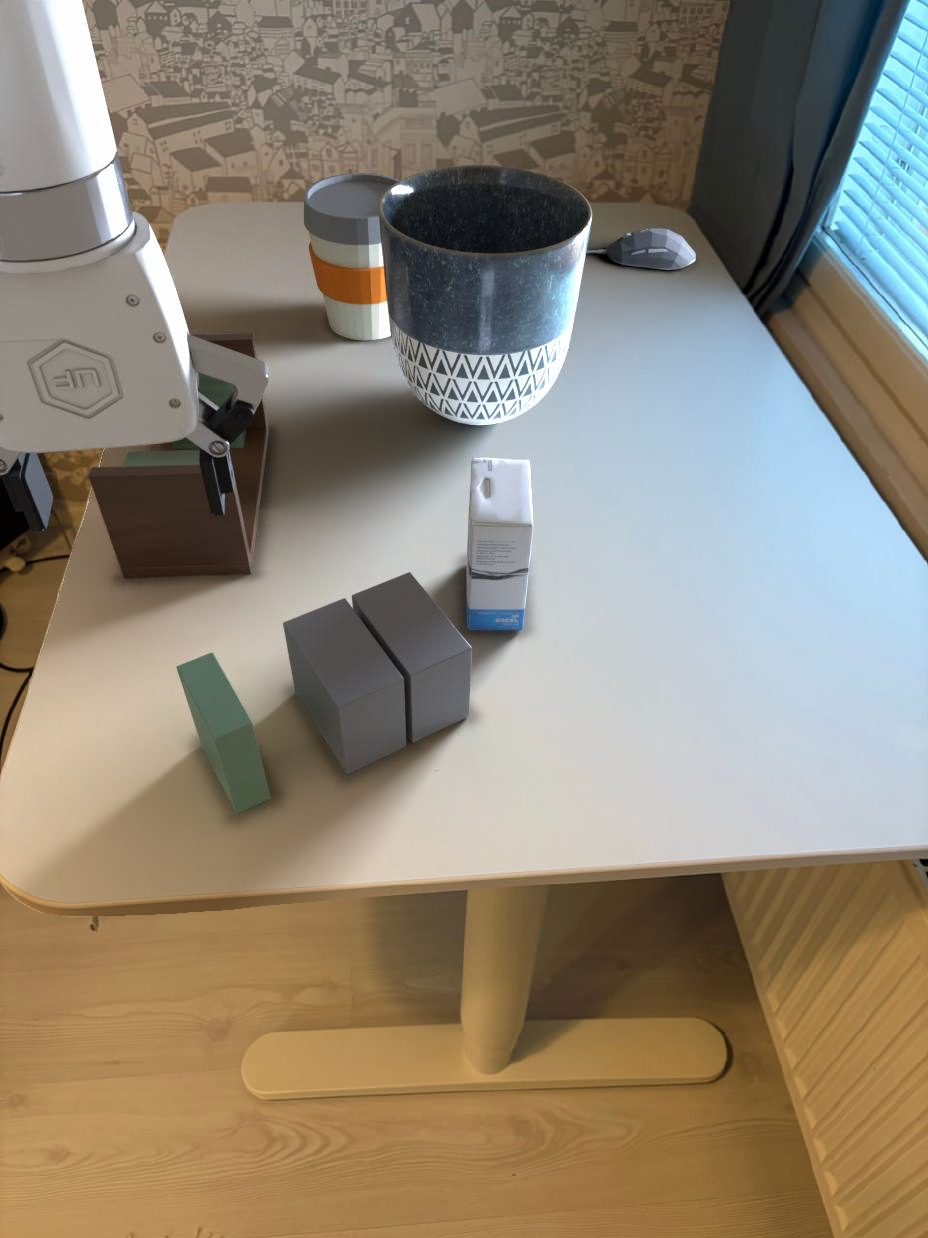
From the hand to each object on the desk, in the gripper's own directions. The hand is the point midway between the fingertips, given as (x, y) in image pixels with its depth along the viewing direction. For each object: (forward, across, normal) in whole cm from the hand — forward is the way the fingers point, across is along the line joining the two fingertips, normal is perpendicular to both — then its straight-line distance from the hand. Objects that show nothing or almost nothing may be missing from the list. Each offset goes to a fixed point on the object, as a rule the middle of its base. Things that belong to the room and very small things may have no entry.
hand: (132, 508), depth 52 cm
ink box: (+22, +24, +12) cm, 35 cm away
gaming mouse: (+22, +56, +72) cm, 94 cm away
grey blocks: (+22, +14, +1) cm, 26 cm away
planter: (+22, +28, +40) cm, 54 cm away
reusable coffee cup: (+22, +18, +60) cm, 66 cm away
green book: (+22, +2, -3) cm, 23 cm away
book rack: (+22, -1, +28) cm, 36 cm away
